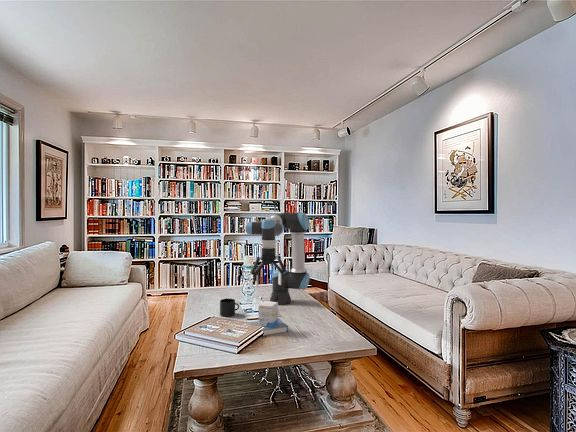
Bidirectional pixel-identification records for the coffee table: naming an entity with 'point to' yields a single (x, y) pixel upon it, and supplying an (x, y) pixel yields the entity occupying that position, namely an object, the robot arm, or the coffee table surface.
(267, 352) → the coffee table surface
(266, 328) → the book
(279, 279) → the robot arm
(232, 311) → the mug
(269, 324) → the ink box
